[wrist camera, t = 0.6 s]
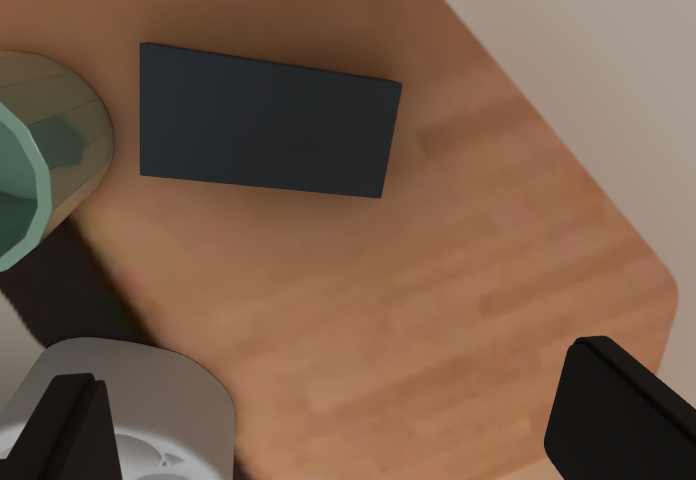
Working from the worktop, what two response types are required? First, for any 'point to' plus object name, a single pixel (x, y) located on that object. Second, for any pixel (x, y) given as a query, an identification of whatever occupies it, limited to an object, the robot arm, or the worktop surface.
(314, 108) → the dark blue flat block
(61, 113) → the cup
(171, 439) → the lumpy-topped squat cylinder
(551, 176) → the worktop surface
